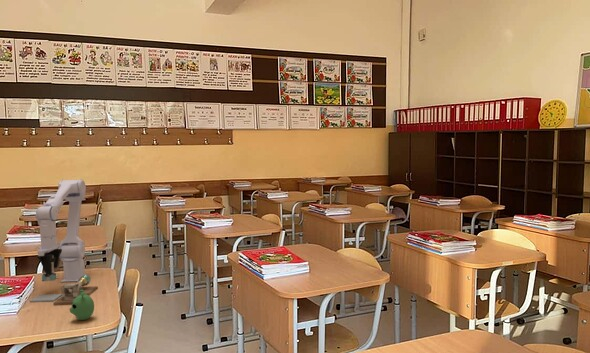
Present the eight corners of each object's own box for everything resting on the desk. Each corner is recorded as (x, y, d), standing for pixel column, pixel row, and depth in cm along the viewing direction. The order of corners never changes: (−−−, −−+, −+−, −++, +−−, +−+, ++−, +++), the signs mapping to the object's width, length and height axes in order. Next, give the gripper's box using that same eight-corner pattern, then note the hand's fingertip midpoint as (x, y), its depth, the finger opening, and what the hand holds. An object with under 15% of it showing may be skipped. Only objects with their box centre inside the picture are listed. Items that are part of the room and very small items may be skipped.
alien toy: (69, 318, 165) (67, 290, 165) (94, 314, 169) (92, 286, 168) (70, 325, 159) (68, 295, 158) (96, 320, 163) (94, 291, 162)
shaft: (81, 284, 198) (80, 275, 198) (91, 284, 198) (90, 274, 198) (64, 296, 184) (64, 285, 183) (75, 295, 184) (74, 285, 183)
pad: (39, 296, 191) (39, 294, 191) (62, 295, 191) (62, 293, 191) (30, 302, 184) (30, 300, 184) (53, 301, 184) (53, 299, 184)
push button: (61, 278, 197) (60, 253, 197) (58, 281, 192) (58, 256, 192) (42, 279, 195) (42, 254, 195) (40, 282, 190) (39, 257, 190)
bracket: (75, 289, 199) (74, 274, 198) (97, 288, 199) (96, 274, 198) (53, 305, 180) (52, 289, 179) (77, 304, 180) (76, 288, 179)
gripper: (47, 232, 200) (49, 265, 201) (28, 240, 185) (31, 275, 187) (64, 232, 200) (66, 264, 201) (47, 239, 185) (49, 274, 187)
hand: (51, 269), depth 194 cm, fingers closed on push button, 5 cm apart
